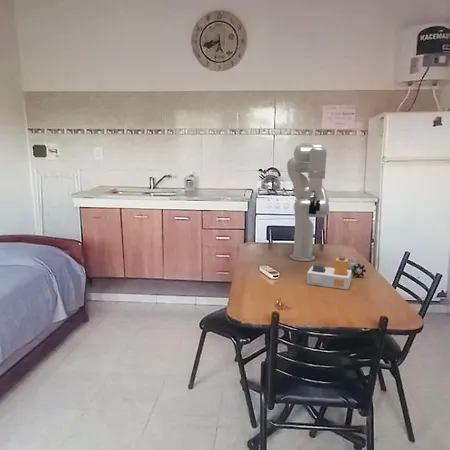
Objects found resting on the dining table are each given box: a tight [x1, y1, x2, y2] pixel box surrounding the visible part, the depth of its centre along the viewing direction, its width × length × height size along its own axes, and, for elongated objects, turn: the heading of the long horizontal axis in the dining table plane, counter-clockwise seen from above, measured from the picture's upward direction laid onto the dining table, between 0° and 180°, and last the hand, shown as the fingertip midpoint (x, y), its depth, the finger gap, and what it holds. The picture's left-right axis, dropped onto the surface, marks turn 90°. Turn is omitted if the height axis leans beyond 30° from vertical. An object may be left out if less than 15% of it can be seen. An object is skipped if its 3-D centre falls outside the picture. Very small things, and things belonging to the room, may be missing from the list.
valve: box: [347, 256, 367, 279], centre depth 203 cm, size 7×7×12 cm
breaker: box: [313, 262, 326, 273], centre depth 191 cm, size 4×4×4 cm
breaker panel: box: [306, 264, 353, 291], centre depth 190 cm, size 12×18×5 cm
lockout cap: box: [334, 255, 348, 275], centre depth 187 cm, size 5×5×7 cm
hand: (314, 212), depth 200 cm, fingers open, 9 cm apart
